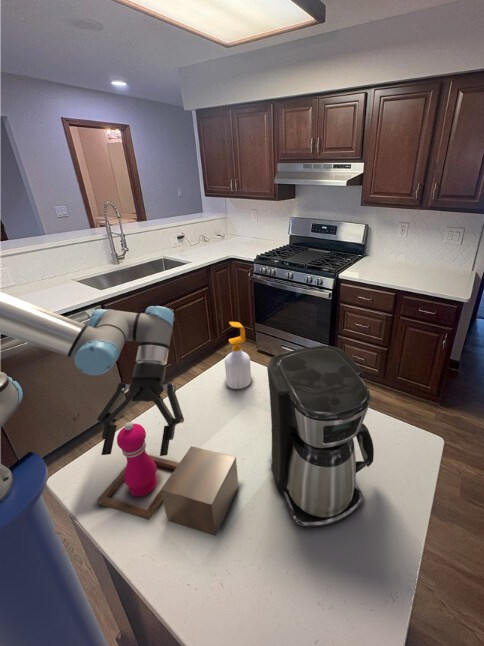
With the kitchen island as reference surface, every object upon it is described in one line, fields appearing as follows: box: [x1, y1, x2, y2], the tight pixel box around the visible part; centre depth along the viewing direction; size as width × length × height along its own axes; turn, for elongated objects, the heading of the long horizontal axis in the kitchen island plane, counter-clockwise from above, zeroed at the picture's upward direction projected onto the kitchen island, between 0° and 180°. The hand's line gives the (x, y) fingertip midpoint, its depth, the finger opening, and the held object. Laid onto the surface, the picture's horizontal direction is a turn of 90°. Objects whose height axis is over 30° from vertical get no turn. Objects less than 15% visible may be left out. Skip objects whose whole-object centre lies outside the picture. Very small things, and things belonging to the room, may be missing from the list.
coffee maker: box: [266, 345, 375, 528], centre depth 75 cm, size 23×32×34 cm
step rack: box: [96, 446, 239, 537], centre depth 74 cm, size 30×14×10 cm, turn 75°
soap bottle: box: [224, 321, 252, 390], centre depth 112 cm, size 9×9×25 cm
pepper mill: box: [116, 421, 158, 498], centre depth 74 cm, size 7×7×20 cm
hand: (134, 455), depth 73 cm, fingers open, 13 cm apart
